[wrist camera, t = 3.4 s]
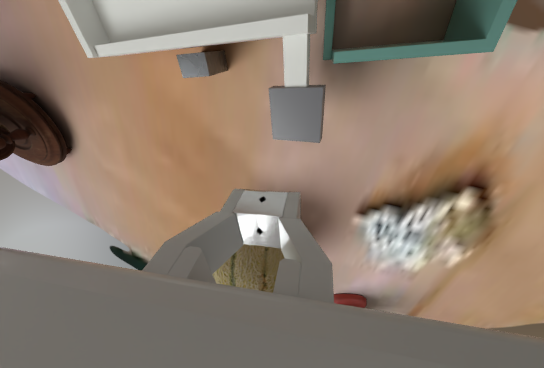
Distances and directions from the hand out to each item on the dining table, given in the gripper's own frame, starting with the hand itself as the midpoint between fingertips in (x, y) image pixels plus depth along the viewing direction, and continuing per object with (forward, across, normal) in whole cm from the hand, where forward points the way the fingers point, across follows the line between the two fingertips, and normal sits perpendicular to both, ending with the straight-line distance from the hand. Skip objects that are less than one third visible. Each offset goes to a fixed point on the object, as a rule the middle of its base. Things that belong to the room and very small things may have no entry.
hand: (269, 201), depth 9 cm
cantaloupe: (+20, +7, +25) cm, 32 cm away
